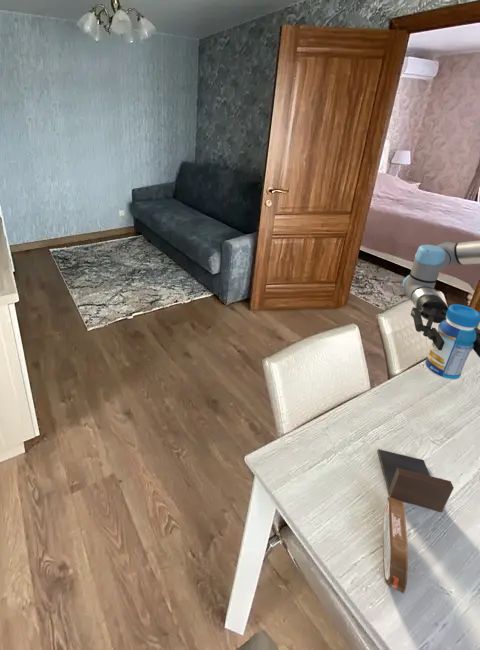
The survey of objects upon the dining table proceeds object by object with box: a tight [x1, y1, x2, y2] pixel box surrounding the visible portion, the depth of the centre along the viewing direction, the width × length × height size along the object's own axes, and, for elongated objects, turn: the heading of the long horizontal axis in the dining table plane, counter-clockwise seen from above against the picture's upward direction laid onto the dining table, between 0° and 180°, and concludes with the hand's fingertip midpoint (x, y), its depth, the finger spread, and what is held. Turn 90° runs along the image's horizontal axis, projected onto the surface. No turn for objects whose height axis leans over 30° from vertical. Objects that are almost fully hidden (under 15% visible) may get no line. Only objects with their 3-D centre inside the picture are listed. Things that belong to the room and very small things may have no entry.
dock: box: [376, 448, 454, 513], centre depth 78 cm, size 12×10×8 cm
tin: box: [382, 496, 409, 594], centre depth 65 cm, size 15×3×8 cm, turn 152°
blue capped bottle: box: [424, 303, 480, 381], centre depth 94 cm, size 8×8×20 cm
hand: (461, 349), depth 89 cm, fingers closed on blue capped bottle, 8 cm apart
